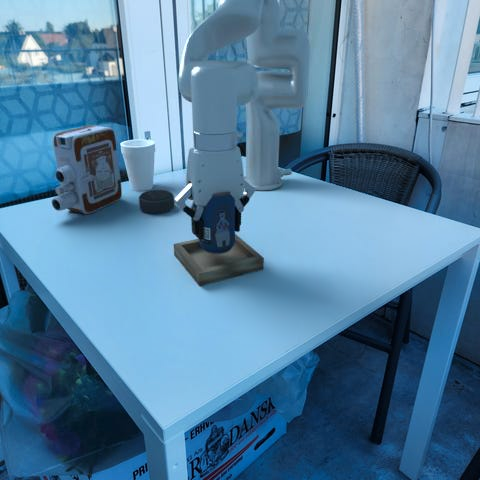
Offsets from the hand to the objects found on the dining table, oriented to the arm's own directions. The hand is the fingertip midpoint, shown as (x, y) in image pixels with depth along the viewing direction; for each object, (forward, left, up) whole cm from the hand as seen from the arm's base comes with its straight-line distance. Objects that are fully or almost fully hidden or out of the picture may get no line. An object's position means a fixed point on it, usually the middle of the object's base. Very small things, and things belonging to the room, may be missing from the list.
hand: (216, 232), depth 82 cm
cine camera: (+18, -41, -7) cm, 45 cm away
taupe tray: (0, 0, -6) cm, 6 cm away
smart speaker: (+2, -33, -7) cm, 34 cm away
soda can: (0, 0, -3) cm, 3 cm away
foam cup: (+1, -51, -7) cm, 51 cm away
